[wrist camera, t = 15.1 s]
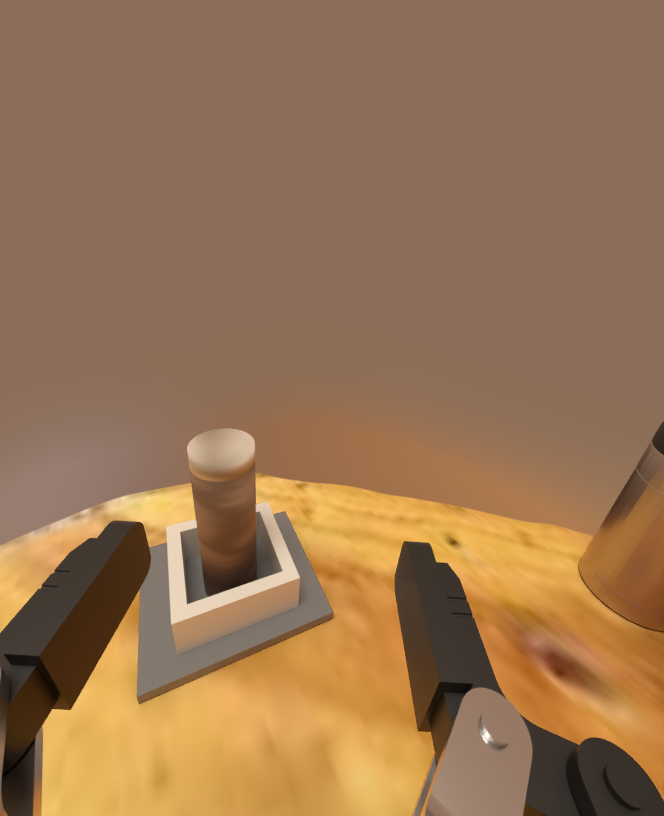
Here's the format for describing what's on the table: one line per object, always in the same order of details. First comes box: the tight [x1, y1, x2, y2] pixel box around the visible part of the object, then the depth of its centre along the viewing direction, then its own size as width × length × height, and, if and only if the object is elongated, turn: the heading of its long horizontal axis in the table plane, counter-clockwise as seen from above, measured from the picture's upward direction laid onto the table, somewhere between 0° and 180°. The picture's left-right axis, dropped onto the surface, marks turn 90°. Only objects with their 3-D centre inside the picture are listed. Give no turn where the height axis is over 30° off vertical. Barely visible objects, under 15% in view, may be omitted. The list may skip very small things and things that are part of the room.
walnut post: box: [187, 429, 257, 597], centre depth 29 cm, size 5×5×16 cm
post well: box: [137, 502, 333, 704], centre depth 32 cm, size 16×14×5 cm
